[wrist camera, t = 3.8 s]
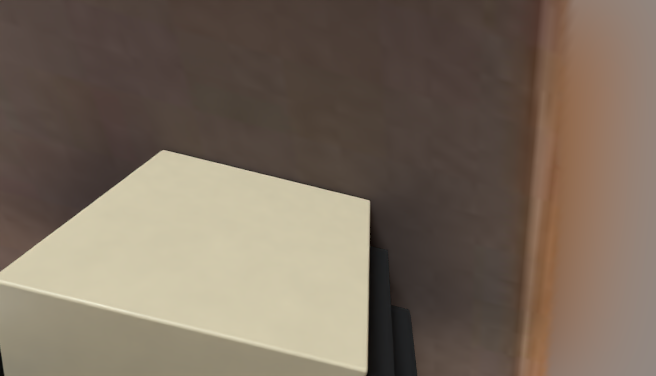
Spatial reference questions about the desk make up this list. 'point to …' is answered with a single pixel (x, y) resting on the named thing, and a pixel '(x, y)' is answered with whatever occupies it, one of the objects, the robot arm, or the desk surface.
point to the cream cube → (194, 280)
